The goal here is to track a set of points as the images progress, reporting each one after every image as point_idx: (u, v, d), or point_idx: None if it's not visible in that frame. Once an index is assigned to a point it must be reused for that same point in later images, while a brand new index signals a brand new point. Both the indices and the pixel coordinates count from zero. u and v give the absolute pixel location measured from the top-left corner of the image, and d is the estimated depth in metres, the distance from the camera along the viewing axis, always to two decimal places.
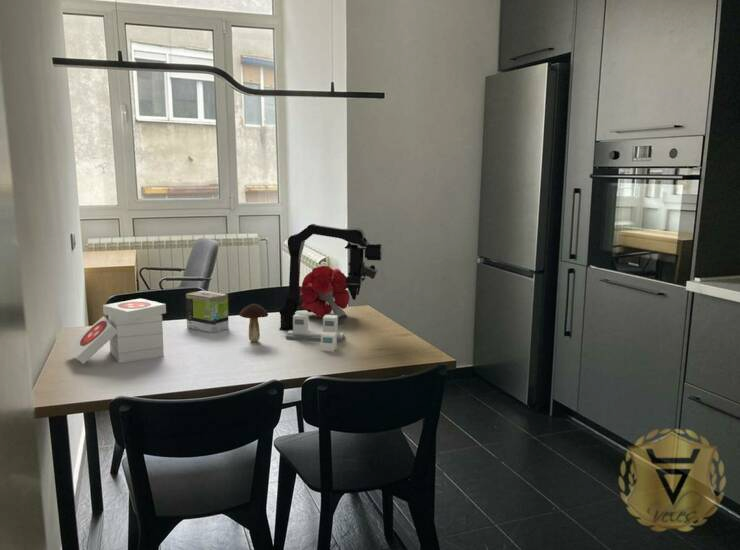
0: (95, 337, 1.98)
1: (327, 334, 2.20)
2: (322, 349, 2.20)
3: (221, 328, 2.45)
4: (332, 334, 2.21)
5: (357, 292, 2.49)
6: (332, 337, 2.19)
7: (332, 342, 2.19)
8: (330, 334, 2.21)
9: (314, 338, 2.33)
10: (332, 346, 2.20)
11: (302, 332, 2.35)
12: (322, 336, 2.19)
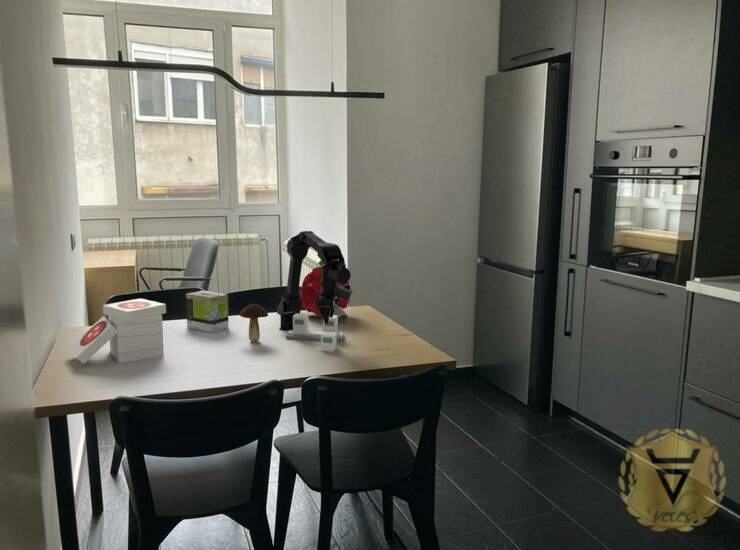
0: (95, 337, 1.98)
1: (327, 334, 2.20)
2: (322, 349, 2.20)
3: (221, 328, 2.45)
4: (332, 334, 2.21)
5: (331, 314, 2.25)
6: (332, 337, 2.19)
7: (332, 342, 2.19)
8: (330, 334, 2.21)
9: (314, 338, 2.33)
10: (332, 346, 2.20)
11: (302, 332, 2.35)
12: (322, 336, 2.19)
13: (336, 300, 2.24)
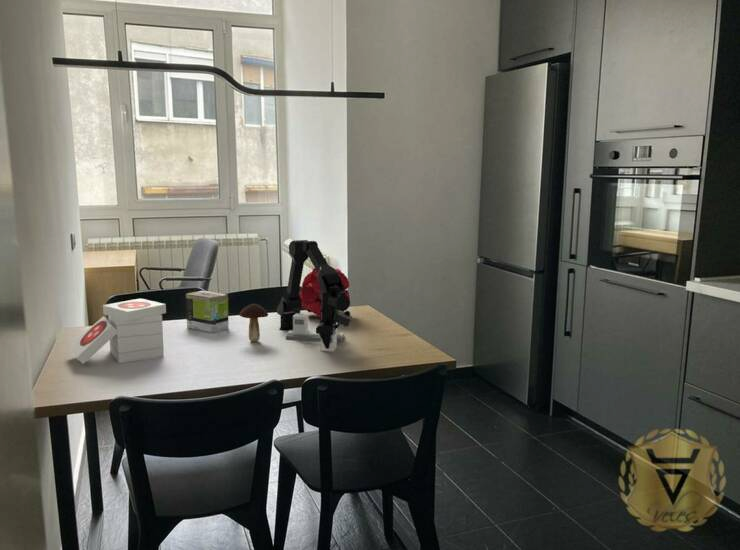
0: (95, 337, 1.98)
1: None
2: (322, 349, 2.20)
3: (221, 328, 2.45)
4: None
5: None
6: (332, 337, 2.19)
7: (332, 342, 2.19)
8: None
9: (314, 338, 2.33)
10: (332, 346, 2.20)
11: (302, 332, 2.35)
12: None
13: (335, 327, 2.24)
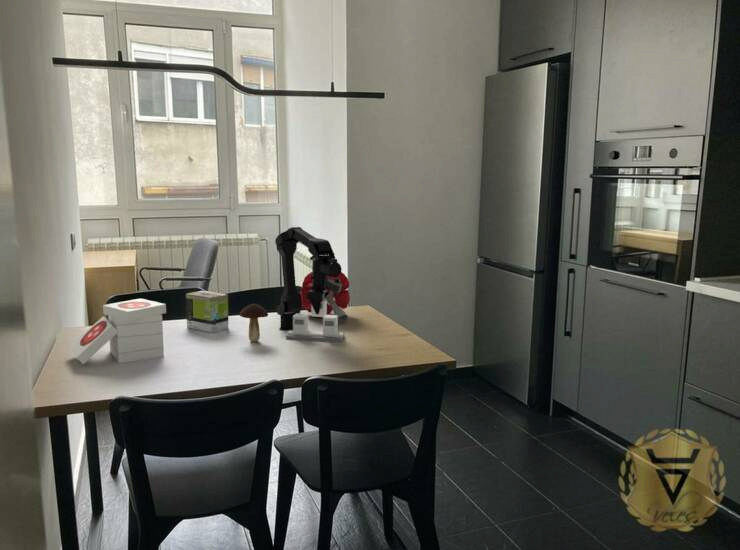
0: (95, 337, 1.98)
1: None
2: (312, 314, 2.29)
3: (221, 328, 2.45)
4: (322, 300, 2.29)
5: None
6: (322, 303, 2.27)
7: (322, 308, 2.28)
8: None
9: (314, 338, 2.33)
10: (322, 312, 2.28)
11: (302, 332, 2.35)
12: None
13: (325, 294, 2.33)
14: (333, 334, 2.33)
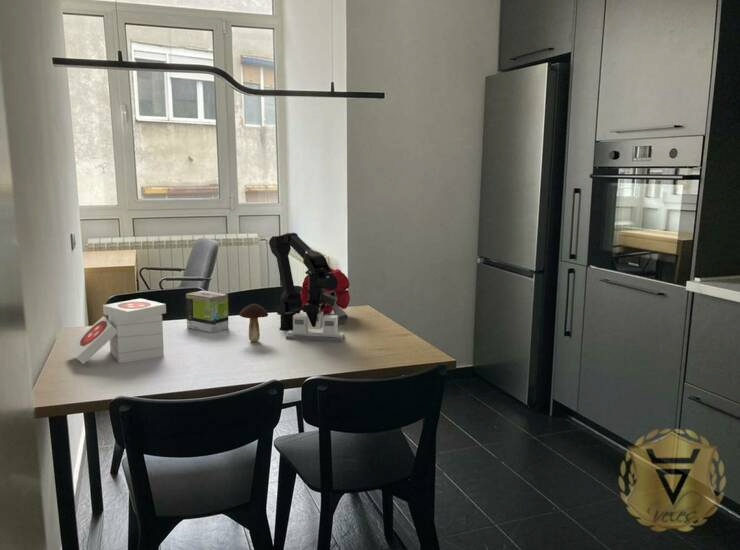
0: (95, 337, 1.98)
1: None
2: (309, 327, 2.34)
3: (221, 328, 2.45)
4: (318, 313, 2.35)
5: None
6: (318, 316, 2.33)
7: (318, 320, 2.33)
8: None
9: (314, 338, 2.33)
10: (318, 324, 2.33)
11: (302, 332, 2.35)
12: None
13: (321, 307, 2.38)
14: (333, 334, 2.33)
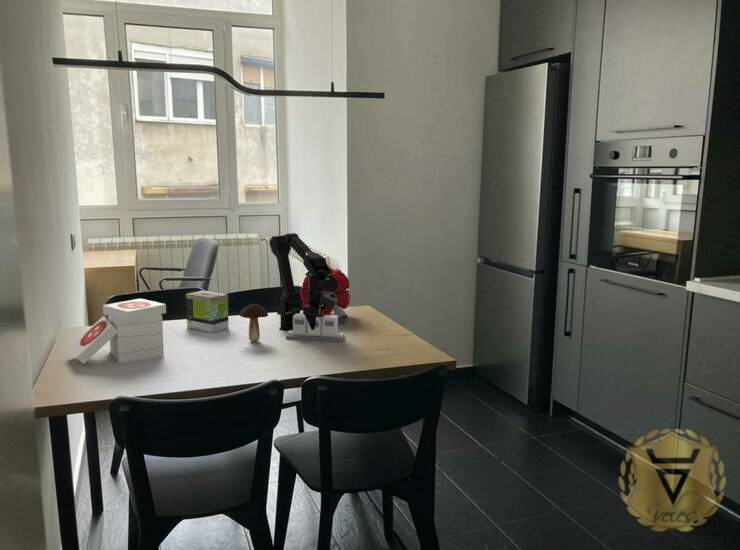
0: (95, 337, 1.98)
1: None
2: (309, 333, 2.34)
3: (221, 328, 2.45)
4: (318, 318, 2.35)
5: None
6: (318, 321, 2.33)
7: (318, 326, 2.33)
8: (317, 318, 2.35)
9: (314, 338, 2.33)
10: (318, 330, 2.34)
11: (302, 332, 2.35)
12: None
13: (322, 308, 2.40)
14: (333, 334, 2.33)
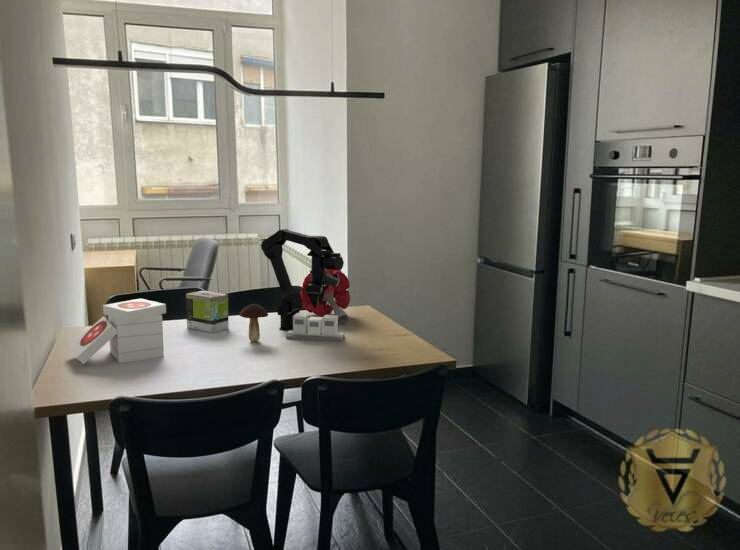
0: (95, 337, 1.98)
1: (314, 318, 2.35)
2: (309, 333, 2.34)
3: (221, 328, 2.45)
4: (318, 318, 2.35)
5: (320, 300, 2.44)
6: (318, 321, 2.33)
7: (318, 326, 2.33)
8: (317, 318, 2.35)
9: (314, 338, 2.33)
10: (318, 330, 2.34)
11: (302, 332, 2.35)
12: (309, 320, 2.33)
13: (325, 287, 2.44)
14: (333, 334, 2.33)
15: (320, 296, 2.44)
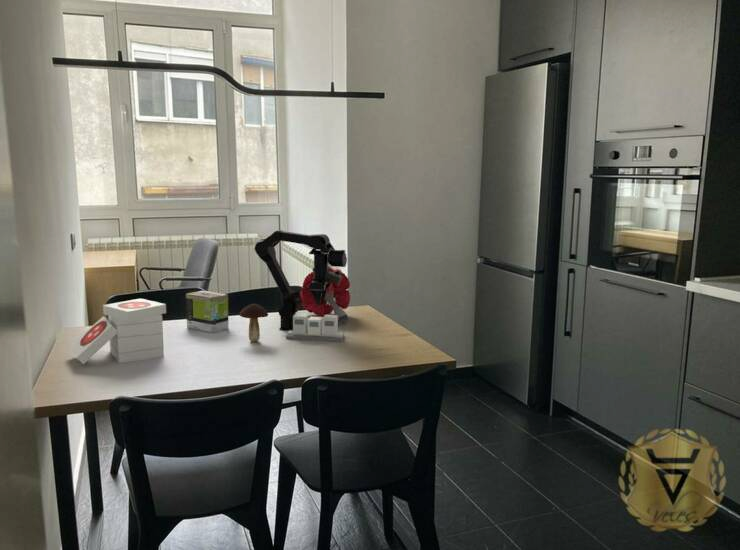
0: (95, 338, 1.98)
1: (314, 318, 2.35)
2: (309, 333, 2.34)
3: (221, 328, 2.45)
4: (318, 318, 2.35)
5: (322, 298, 2.49)
6: (318, 321, 2.33)
7: (318, 326, 2.33)
8: (317, 318, 2.35)
9: (314, 338, 2.33)
10: (318, 330, 2.34)
11: (302, 332, 2.35)
12: (309, 320, 2.33)
13: (327, 285, 2.48)
14: (333, 334, 2.33)
15: (322, 293, 2.49)
